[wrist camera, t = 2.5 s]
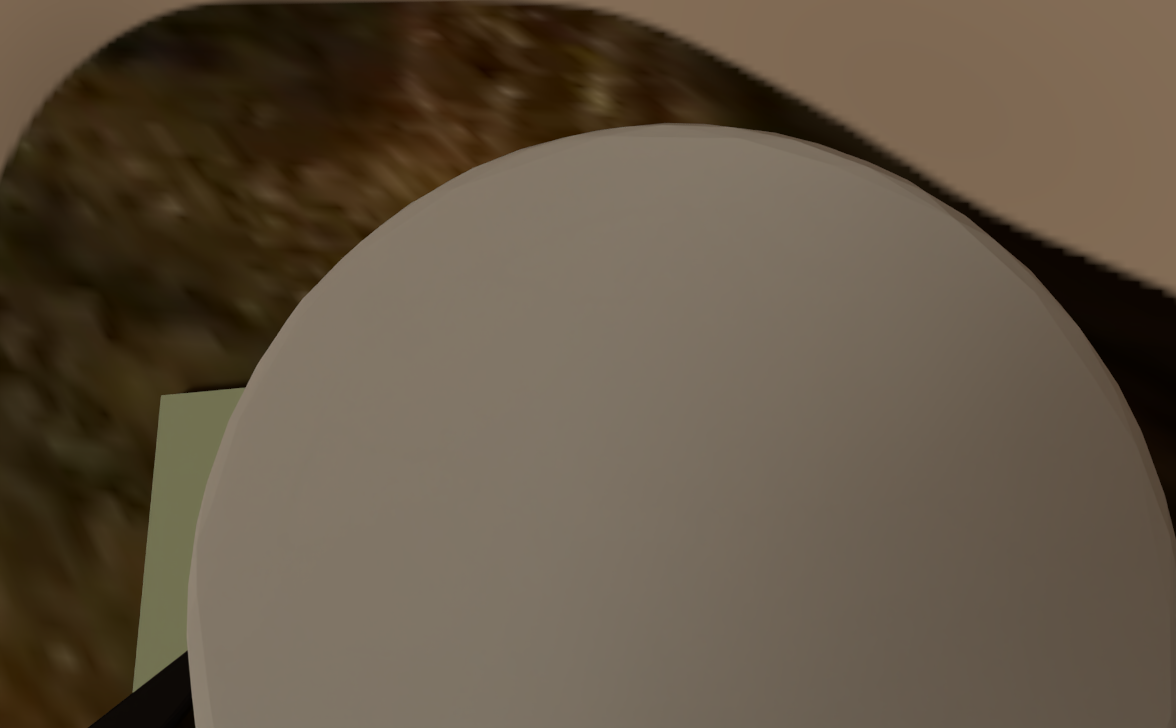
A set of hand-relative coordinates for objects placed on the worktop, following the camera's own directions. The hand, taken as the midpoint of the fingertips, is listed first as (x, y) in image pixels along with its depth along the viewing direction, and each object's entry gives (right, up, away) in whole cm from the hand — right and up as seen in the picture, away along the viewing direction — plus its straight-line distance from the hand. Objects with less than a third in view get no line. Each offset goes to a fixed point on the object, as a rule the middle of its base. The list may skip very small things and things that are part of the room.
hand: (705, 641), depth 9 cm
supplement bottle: (+1, -2, +8) cm, 8 cm away
